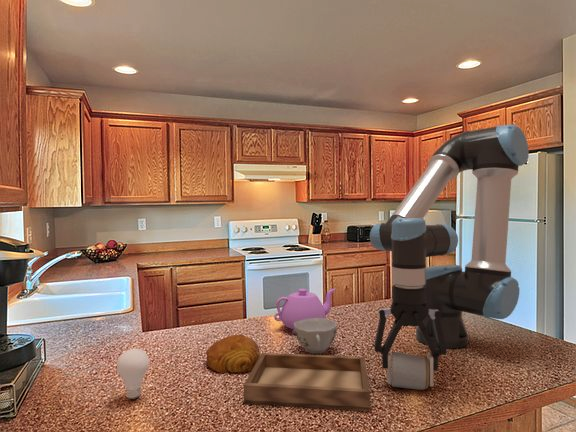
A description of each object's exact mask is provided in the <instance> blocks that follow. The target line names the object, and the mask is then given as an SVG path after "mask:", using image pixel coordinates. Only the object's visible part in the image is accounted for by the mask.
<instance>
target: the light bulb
mask: <svg viewBox="0 0 576 432" xmlns="http://www.w3.org/2000/svg"><path fill="white" fill-rule="evenodd" d="M149 367H150V359H149V356H148V354H147V352H146V351H144V350H143V349H141V348H134V347H133V348H130V349H127V350H125V351H124V352H123V353H122V354H121V355H119V358H118V359H117V363H116V371H117V373H118V375H119V376H120V378H121V379H122V381H123V383H124V387H125V389H126V393H125V394H126V398H127V399H130V400H135V399H137V398H140V396H141V395H142V388H141V387H142V385H143V380H144V377H145V375H146V373H147V371H148V369H149Z"/></svg>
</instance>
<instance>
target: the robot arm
mask: <svg viewBox="0 0 576 432" xmlns="http://www.w3.org/2000/svg"><path fill="white" fill-rule="evenodd" d="M529 151H530V150H529V144H528V140H527V137H526V135H525V134H524V132H523V130H522V129H521V127H519V126H517V125H516V124H511V123H510V124H504V125H502V124H500V125H497V126H492V127H486V128H480V129H473V130H469V131H463V132H460V133H458V134H456V135H454V136H452V137H451V138H450V139H448V140H446V142H444V143H443V144H442V145H441V146H440V147H439V148H437V149H436V151H434V153H433V154H432V155H431V157H430V158H429V160H428V162H427V167H426V169H425V170H424V171H423V173H422V174H421V176H420V177H419V178H418V180H417V181H416V182H415V184H414V185H413V186H412V188H411V189H410V190H409V192H407V194H406V195H405V197H404V198H403V199H402V201H401V202H400V203H399V204H398V206H397V208H396V209H395V210H394V211H393V212H392V214H391V216H390V217H389V218H388V220H387V221H386V222H381V223H376V224H374V225H373V226H372V227H371V229H370V232H369V239H370V243H371V245H372V247H374V248H375V250H379V251H384V252H388V253H389V252H391V283H392V284H393V285H392V286H391V300H392V301H391V305H390V307H388V308H383V307H379V308H378V315H379V320H378V325H377V329H376V334H375V339H374V345H373V347H374V351H375V352H376V353H380V354H381V364H382V367H383V369H386V380H387V384H388V385H391V382H392V354H391V349H392V346H393V345H394V342H395V340H396V339H397V337H398V334H399V332H400V330H401V329H402V327H409V326H410V327H416V329H415V339H416V340H417V341H418V342H420V343H421V344H424V345H427V346H428V349H429V351H430V352H428V353H427V354H426V356H427V357H426V358H427V359H428V362H429V385H428V386H429V387H434V386H435V385H434V371H438V369H439V358H440V356H442V355H443V356H445V355H447V349H459V348H463V347H467V345H468V344H469V334H468V331H467V328H466V325H465V322H464V319H463V313H468V314H472V315H475V316H476V315H477V316H481V317H484V318H487V319H489V318H491V319H496V320H504V319H507V318H508V317H509V316H511V315H512V314H513V312H514V311H515V308H516V307H517V305H518V301H519V297H520V286H519V285H520V284H519V281H518V280H517V279H516V278H514V277H513V276H512V270H511V269H510V268H509V267H508V266H507V264H506V260H507V250H508V249H507V247H508V246H507V245H508V231H509V221H510V220H509V218H510V204H511V203H510V202H511V190H512V189H511V188H512V180H513V179H514V177H516V176H517V175H518V174H519V167H521V166H524V165H525V164H526V163H527V162H528V159H529V155H530V154H529ZM468 170H471V171H472V174H473V176H475V177H476V179H477V181H476V194H475V206H474V207H475V209H474V221H473V222H474V223H473V233H472V235H473V236H472V249H471V260H470V261H469V262H468V263H467V264H465V267H464V271H463V268H462V266H461V265H458V264H447V265H443V264H442V265H433V266H427V258H429V257H430V258H431V257H438V256H439V257H440V256H441V257H443V256H445V255H448V254H452V253H453V252H454V251H455V250H456V249H457V248H458V247H457V246H458V244H459V237H458V236H459V235H458V234H457V231H456V230H455V229H454V228H453V227H452V226H450V225H447V224H440V223H439V224H426V220H425V219H424V218H425V216H426V215H427V213H428V212H429V210H430V209H431V208H432V206H433V205H434V204H435V202H436V201H437V199H438V198H439V197H440V195H441V194H442V192H443V191H444V190H445V188H446V186H447V185H448V183H450V181H451V180H454V179H455V178H457V177H458V175H459V174H461V173H462V172H465V171H468ZM390 315H392V316H393V317H394V322H393V323H392V326H391V328H390V331H389V333H388V335H387V337H386V339H385V341H384V343H383V345H382V342H383V337H384V332H385V329H386V322H387V319H388V318H389V316H390Z"/></svg>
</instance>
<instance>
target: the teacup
mask: <svg viewBox="0 0 576 432" xmlns="http://www.w3.org/2000/svg"><path fill="white" fill-rule="evenodd" d="M294 329H295V334H294V335H295V337H296V340H297V341H298V342H299V344H300V345H301V347H302V348H303V349H304V350H305V351H306V352H307V353H310V354H312V355H321V354H323V353H325V352H326V351H327V350H328V349H329V348H330V347H331V345H332V344H333V342H334V340H335V338H336V334H337V330H338V324H337V322H336V321H335V320H333V319H329V318H327V317H326V318H324V319H323V318H309V319H304V320H301V321H297V322H295V323H294Z"/></svg>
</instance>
